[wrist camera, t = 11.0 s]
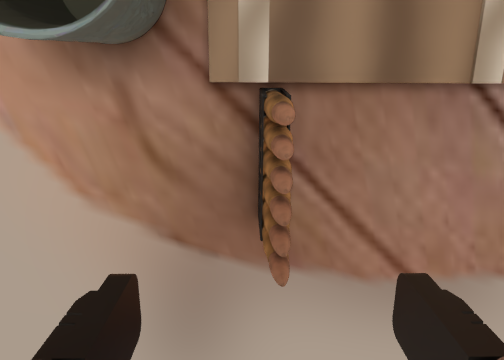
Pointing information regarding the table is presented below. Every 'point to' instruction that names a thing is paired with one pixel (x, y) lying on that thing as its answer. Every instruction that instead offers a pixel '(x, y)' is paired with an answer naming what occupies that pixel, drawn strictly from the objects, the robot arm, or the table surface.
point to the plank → (356, 41)
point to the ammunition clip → (275, 178)
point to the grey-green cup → (79, 19)
